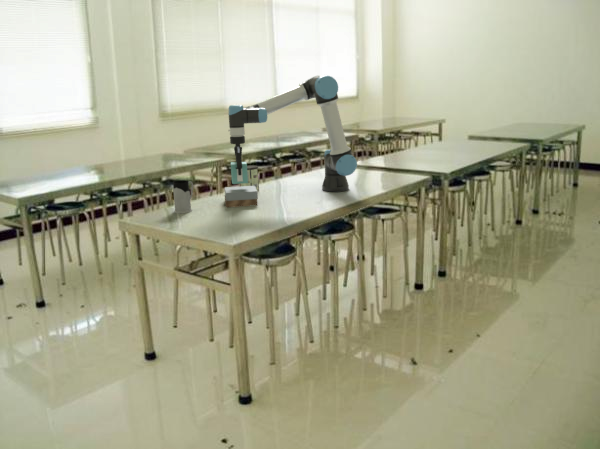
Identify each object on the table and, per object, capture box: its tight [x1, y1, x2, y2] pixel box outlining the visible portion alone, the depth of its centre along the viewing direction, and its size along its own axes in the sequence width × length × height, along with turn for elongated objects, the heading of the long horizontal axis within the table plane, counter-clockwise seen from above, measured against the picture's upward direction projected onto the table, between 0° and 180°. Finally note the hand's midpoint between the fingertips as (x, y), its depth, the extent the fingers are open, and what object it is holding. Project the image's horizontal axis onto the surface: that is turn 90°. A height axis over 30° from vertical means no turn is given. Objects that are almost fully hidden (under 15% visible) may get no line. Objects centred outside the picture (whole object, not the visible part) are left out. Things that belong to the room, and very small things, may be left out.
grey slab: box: [224, 186, 258, 201], centre depth 308 cm, size 16×16×4 cm
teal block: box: [230, 161, 248, 185], centre depth 305 cm, size 8×8×10 cm
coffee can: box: [240, 164, 260, 192], centre depth 340 cm, size 10×10×14 cm
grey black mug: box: [172, 179, 194, 214], centre depth 295 cm, size 9×14×15 cm, turn 156°
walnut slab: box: [224, 195, 258, 208], centre depth 309 cm, size 16×16×4 cm
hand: (239, 179), depth 306 cm, fingers closed on teal block, 8 cm apart
